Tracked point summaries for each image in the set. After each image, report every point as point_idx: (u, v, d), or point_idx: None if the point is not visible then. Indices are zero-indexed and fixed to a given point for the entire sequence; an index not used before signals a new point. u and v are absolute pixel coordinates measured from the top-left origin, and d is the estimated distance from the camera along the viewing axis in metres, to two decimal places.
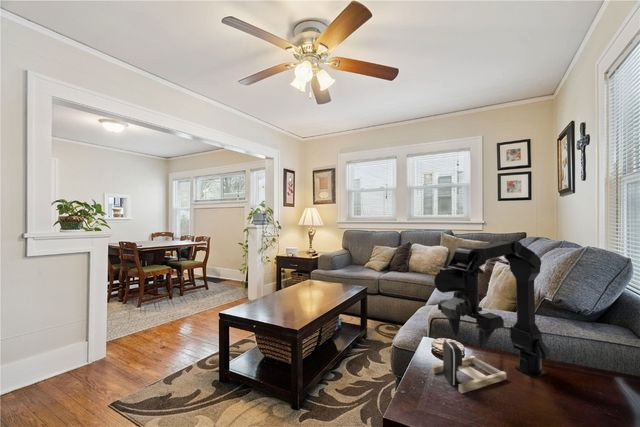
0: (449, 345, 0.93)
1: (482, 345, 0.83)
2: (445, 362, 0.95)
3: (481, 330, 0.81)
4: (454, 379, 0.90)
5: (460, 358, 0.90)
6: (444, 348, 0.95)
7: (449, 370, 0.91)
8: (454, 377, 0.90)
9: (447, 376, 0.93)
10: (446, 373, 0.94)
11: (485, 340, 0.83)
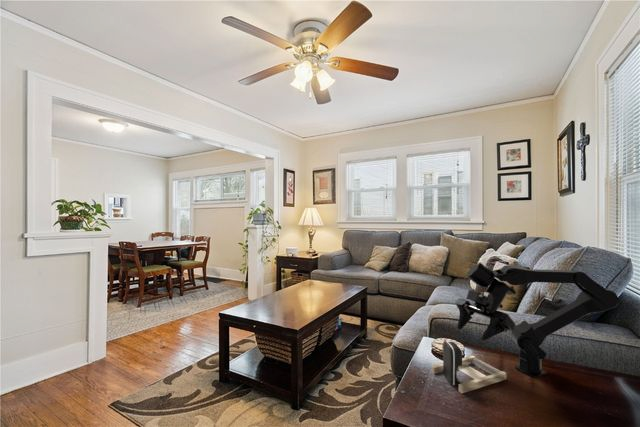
0: (449, 345, 0.93)
1: (485, 337, 0.92)
2: (445, 362, 0.95)
3: (493, 322, 0.91)
4: (454, 379, 0.90)
5: (460, 358, 0.90)
6: (444, 348, 0.95)
7: (449, 370, 0.91)
8: (454, 377, 0.90)
9: (447, 376, 0.93)
10: (446, 373, 0.94)
11: (489, 335, 0.92)
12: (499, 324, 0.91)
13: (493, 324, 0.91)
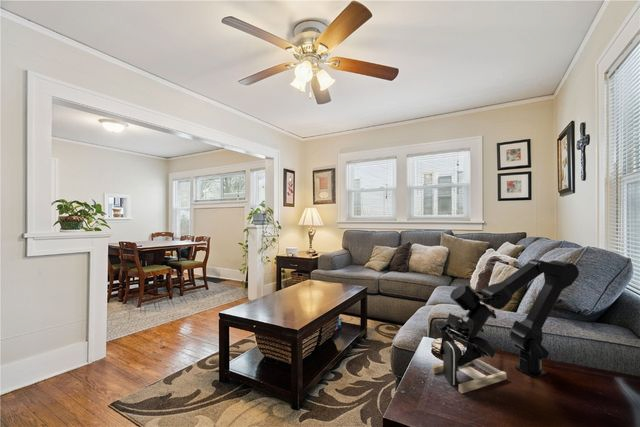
0: (449, 345, 0.93)
1: (461, 363, 0.89)
2: (445, 362, 0.95)
3: (470, 347, 0.89)
4: (454, 379, 0.90)
5: (460, 358, 0.90)
6: (444, 348, 0.95)
7: (449, 370, 0.91)
8: (454, 377, 0.90)
9: (447, 376, 0.93)
10: (446, 373, 0.94)
11: (466, 360, 0.89)
12: (476, 350, 0.89)
13: (470, 350, 0.89)
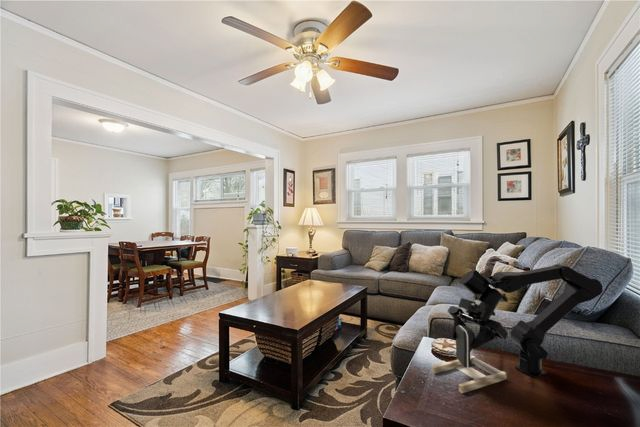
0: (462, 329, 0.94)
1: (475, 345, 0.91)
2: (458, 345, 0.97)
3: (483, 330, 0.91)
4: (468, 361, 0.92)
5: (473, 341, 0.92)
6: (457, 332, 0.97)
7: (462, 353, 0.93)
8: (468, 359, 0.92)
9: (460, 359, 0.95)
10: (459, 356, 0.96)
11: (479, 343, 0.91)
12: (489, 332, 0.90)
13: (483, 332, 0.91)
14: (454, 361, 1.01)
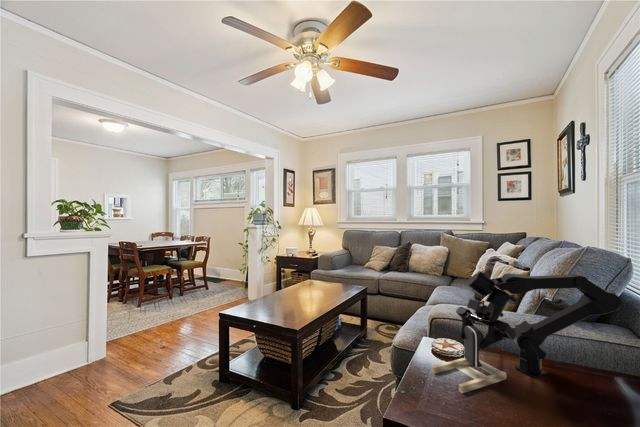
0: (471, 329, 0.96)
1: (483, 345, 0.93)
2: (466, 346, 0.98)
3: (491, 330, 0.92)
4: (476, 361, 0.94)
5: None
6: (466, 332, 0.98)
7: (471, 353, 0.95)
8: (476, 359, 0.94)
9: (469, 359, 0.96)
10: (468, 356, 0.97)
11: (488, 343, 0.93)
12: (497, 333, 0.92)
13: (491, 333, 0.92)
14: (454, 361, 1.01)
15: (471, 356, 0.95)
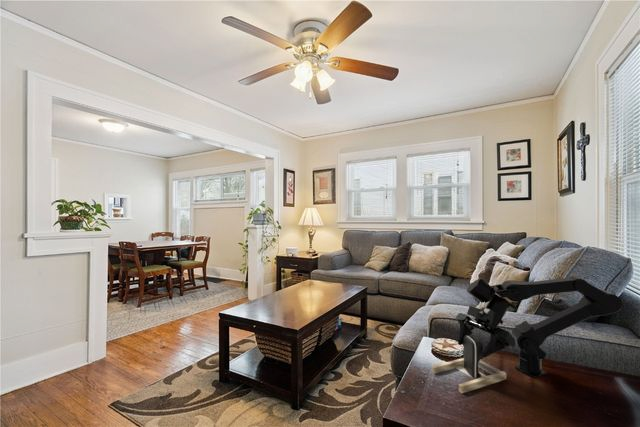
0: (470, 339, 0.96)
1: (485, 354, 0.92)
2: (466, 356, 0.99)
3: (493, 339, 0.92)
4: (475, 372, 0.94)
5: (481, 352, 0.94)
6: (465, 342, 0.99)
7: (470, 364, 0.95)
8: (475, 370, 0.94)
9: (468, 369, 0.97)
10: (467, 366, 0.97)
11: (490, 352, 0.92)
12: (499, 341, 0.91)
13: (493, 341, 0.92)
14: (454, 361, 1.01)
15: (470, 366, 0.95)
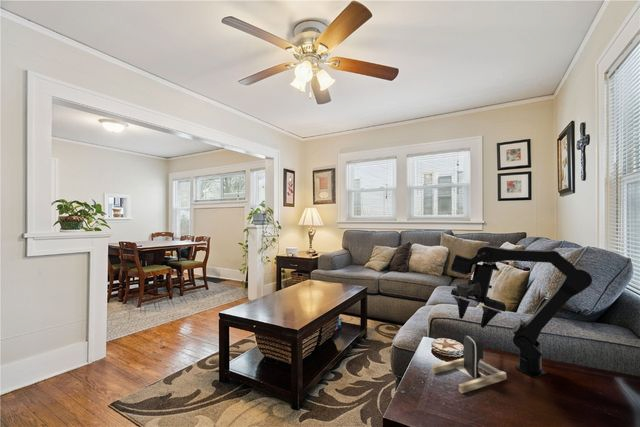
0: (470, 339, 0.96)
1: (483, 324, 1.00)
2: (466, 356, 0.99)
3: (485, 310, 0.98)
4: (476, 372, 0.94)
5: (481, 352, 0.94)
6: (465, 342, 0.99)
7: (470, 364, 0.95)
8: (476, 370, 0.94)
9: (468, 369, 0.97)
10: (467, 366, 0.97)
11: (486, 321, 1.00)
12: (491, 310, 0.98)
13: (486, 312, 0.99)
14: (454, 361, 1.01)
15: (470, 366, 0.95)
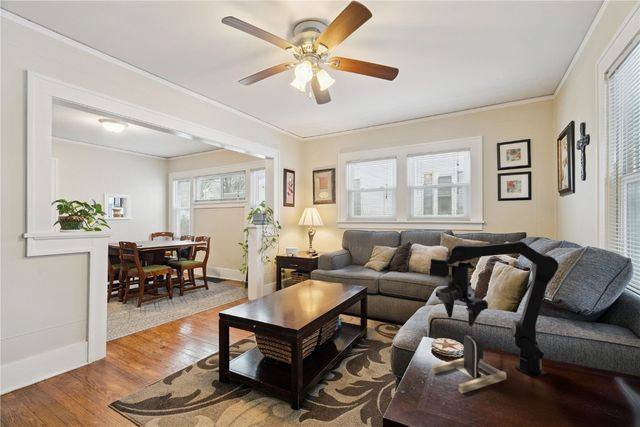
0: (470, 339, 0.96)
1: (471, 324, 1.03)
2: (466, 356, 0.99)
3: (470, 311, 1.01)
4: (476, 372, 0.94)
5: (481, 352, 0.94)
6: (465, 342, 0.99)
7: (470, 364, 0.95)
8: (476, 370, 0.94)
9: (468, 369, 0.97)
10: (467, 366, 0.97)
11: (473, 320, 1.03)
12: None
13: (471, 313, 1.02)
14: (454, 361, 1.01)
15: (470, 366, 0.95)
